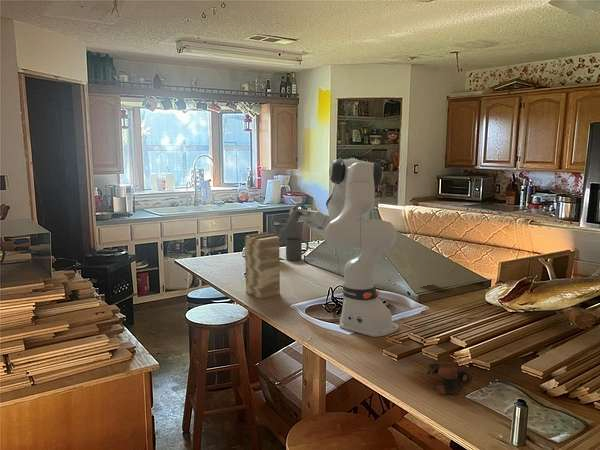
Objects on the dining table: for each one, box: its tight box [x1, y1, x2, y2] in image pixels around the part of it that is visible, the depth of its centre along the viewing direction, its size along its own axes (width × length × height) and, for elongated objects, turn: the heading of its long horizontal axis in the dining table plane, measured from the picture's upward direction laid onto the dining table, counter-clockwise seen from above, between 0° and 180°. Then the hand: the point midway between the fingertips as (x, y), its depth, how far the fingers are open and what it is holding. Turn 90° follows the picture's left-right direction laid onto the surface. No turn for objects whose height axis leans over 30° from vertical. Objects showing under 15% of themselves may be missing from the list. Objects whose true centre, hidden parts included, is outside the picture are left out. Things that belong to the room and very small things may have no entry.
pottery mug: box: [427, 362, 474, 395], centre depth 132 cm, size 12×10×8 cm
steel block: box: [275, 202, 307, 245], centre depth 221 cm, size 3×21×3 cm
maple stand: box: [244, 231, 281, 300], centre depth 214 cm, size 12×10×27 cm
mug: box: [285, 237, 309, 262], centre depth 280 cm, size 14×9×12 cm
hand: (295, 208), depth 222 cm, fingers closed on steel block, 3 cm apart
